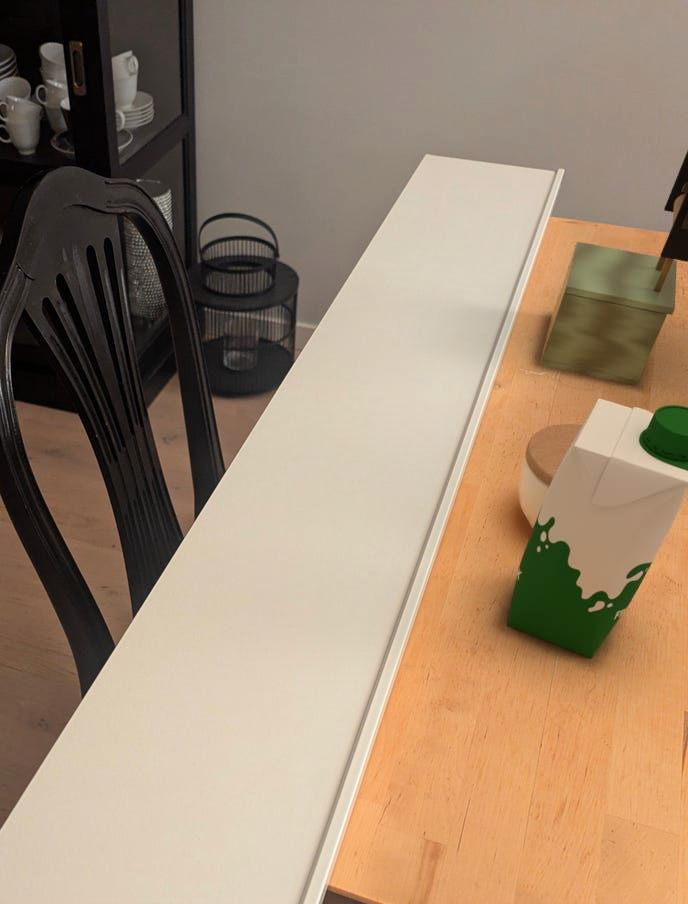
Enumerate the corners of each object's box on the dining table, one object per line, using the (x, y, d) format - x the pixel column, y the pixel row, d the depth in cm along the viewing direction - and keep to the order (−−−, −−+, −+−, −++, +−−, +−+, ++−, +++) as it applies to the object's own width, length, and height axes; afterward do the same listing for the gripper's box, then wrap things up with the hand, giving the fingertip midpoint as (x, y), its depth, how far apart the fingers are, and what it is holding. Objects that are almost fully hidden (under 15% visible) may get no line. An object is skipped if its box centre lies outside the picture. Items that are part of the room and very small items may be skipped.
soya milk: (599, 670, 73) (711, 463, 59) (490, 627, 76) (571, 419, 62) (623, 606, 79) (730, 402, 64) (520, 568, 81) (601, 364, 67)
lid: (674, 267, 108) (708, 187, 101) (672, 315, 99) (709, 230, 92) (574, 247, 110) (601, 168, 104) (564, 293, 101) (592, 209, 95)
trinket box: (622, 573, 82) (665, 488, 75) (501, 548, 83) (533, 463, 76) (617, 503, 89) (655, 420, 82) (505, 482, 90) (534, 398, 84)
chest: (640, 335, 114) (669, 266, 108) (635, 386, 105) (667, 314, 99) (551, 316, 116) (574, 248, 110) (539, 364, 107) (563, 293, 101)
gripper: (727, -29, 93) (644, 188, 108) (733, 24, 77) (634, 272, 92) (806, -19, 92) (710, 200, 107) (829, 38, 75) (712, 287, 90)
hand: (675, 234), depth 99 cm, fingers open, 13 cm apart
